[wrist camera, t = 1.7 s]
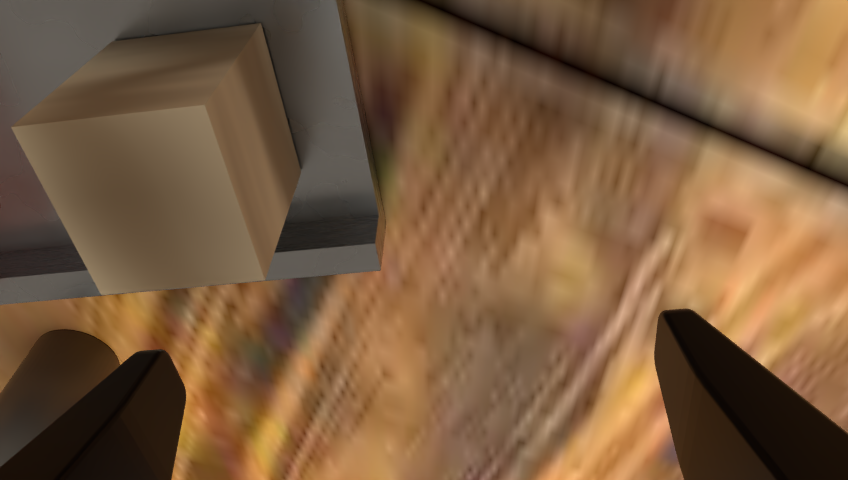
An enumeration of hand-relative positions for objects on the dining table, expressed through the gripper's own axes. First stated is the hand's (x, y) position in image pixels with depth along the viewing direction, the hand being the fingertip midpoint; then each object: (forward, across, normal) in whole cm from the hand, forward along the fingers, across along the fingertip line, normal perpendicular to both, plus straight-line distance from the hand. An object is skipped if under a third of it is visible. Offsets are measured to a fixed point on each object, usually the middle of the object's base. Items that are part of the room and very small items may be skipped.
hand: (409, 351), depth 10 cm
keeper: (+10, +6, 0) cm, 12 cm away
